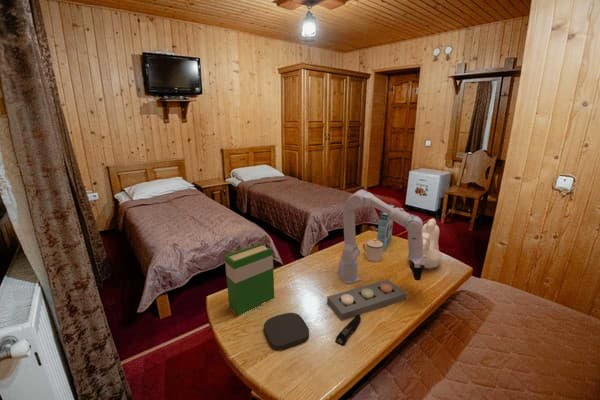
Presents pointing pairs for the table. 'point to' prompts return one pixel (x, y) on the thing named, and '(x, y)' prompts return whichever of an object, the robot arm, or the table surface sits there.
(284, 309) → the table surface
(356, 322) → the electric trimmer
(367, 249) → the teacup with lid
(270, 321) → the media streaming box
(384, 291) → the terracotta button
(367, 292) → the sage button
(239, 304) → the hardback book
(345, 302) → the cream button
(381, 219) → the gum box
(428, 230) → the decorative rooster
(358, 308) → the button panel
